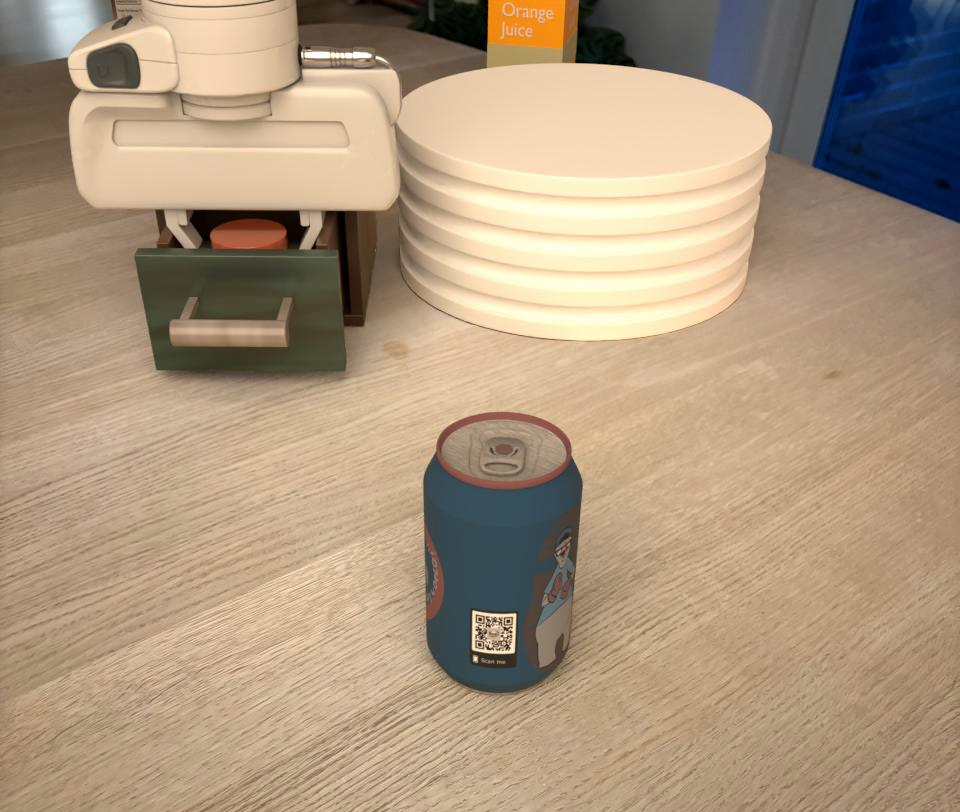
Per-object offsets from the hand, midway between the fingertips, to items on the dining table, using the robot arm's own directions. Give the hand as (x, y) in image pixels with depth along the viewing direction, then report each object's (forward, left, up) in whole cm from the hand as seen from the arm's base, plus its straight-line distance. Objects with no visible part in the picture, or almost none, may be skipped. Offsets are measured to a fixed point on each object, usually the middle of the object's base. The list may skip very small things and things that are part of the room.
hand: (253, 271), depth 76 cm
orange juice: (+21, +52, -6) cm, 56 cm away
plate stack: (+23, +16, -6) cm, 28 cm away
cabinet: (0, +12, -6) cm, 13 cm away
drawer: (0, 0, -5) cm, 5 cm away
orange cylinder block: (0, 0, -2) cm, 2 cm away
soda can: (+16, -32, -6) cm, 36 cm away
